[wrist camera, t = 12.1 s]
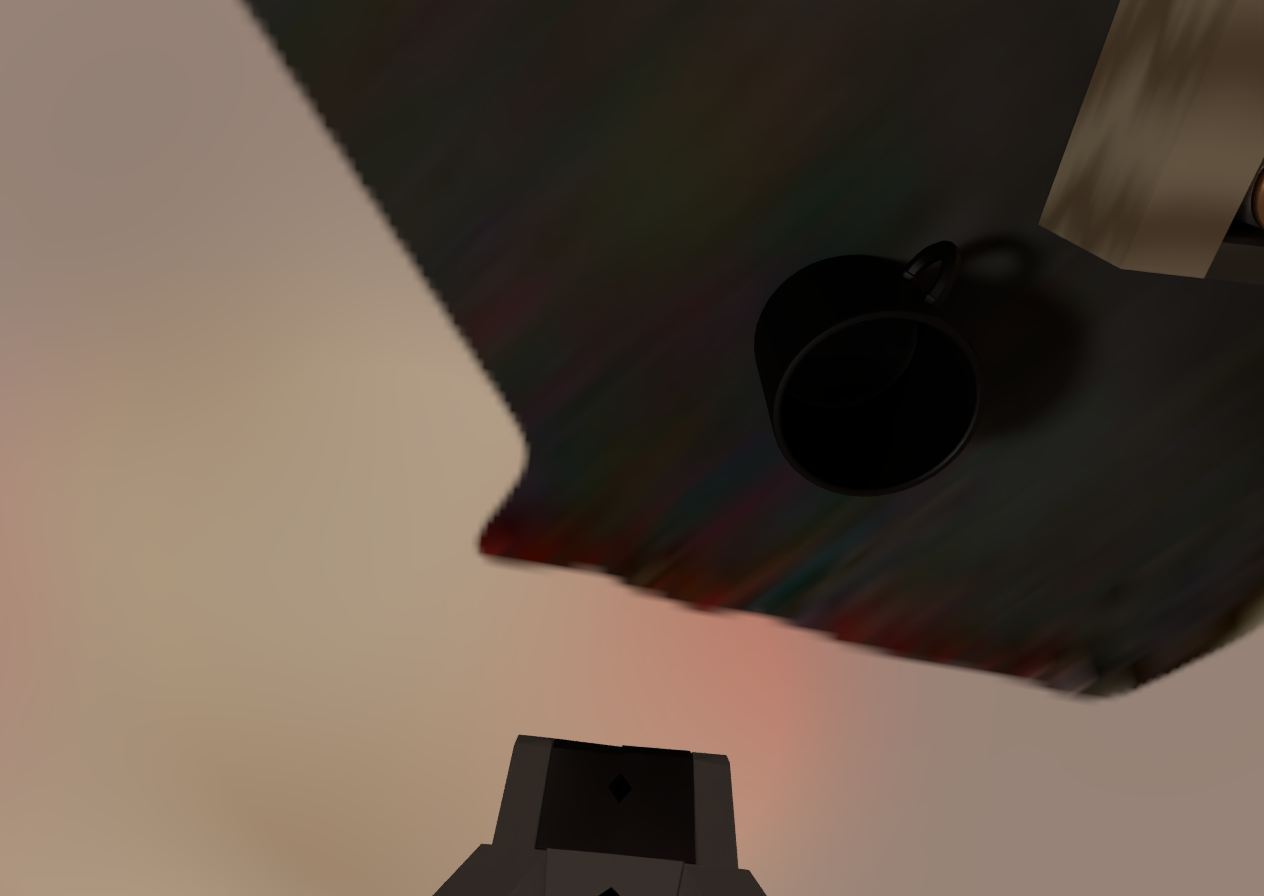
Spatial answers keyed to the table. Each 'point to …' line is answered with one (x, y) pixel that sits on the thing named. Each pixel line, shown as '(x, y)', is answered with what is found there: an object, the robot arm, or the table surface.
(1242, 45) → the oak block
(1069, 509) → the table surface
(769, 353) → the mug
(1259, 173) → the cylinder
